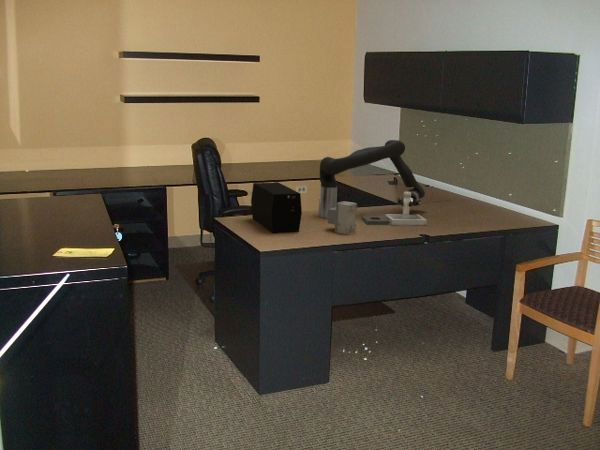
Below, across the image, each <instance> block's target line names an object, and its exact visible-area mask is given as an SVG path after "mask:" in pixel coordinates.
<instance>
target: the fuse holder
mask: <svg viewBox="0 0 600 450" xmlns="http://www.w3.org/2000/svg"><path fill="white" fill-rule="evenodd" d="M361 221H363V222H364V223H365V224H366V225H369V226H372V225H374V226H375V225H377V226H378V225H379V226H382V225H383V226H386V225H387V226H388V225H390V224H389V221H388V220H387V219H386V218H385V216H383V215H362V216H361Z"/></svg>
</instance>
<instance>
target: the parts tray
mask: <svg viewBox="0 0 600 450" xmlns="http://www.w3.org/2000/svg"><path fill="white" fill-rule="evenodd" d="M402 214H403V213H402ZM402 214H401V213H399V214H397V213H396V214H394V213H392V214H391V213H389V214H388V213H387V214H386V213H385V214H384V217H385V218H386V219H387V220H388V221H389V223H390V224H389V225H391V226H427V223H428V222H427V221H428V220H427V219H426V218H425V217H423V216H421V215H420V214H410V213H409V219H402Z"/></svg>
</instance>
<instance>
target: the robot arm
mask: <svg viewBox="0 0 600 450" xmlns="http://www.w3.org/2000/svg"><path fill="white" fill-rule="evenodd" d="M405 150H406V145H405V143H404V142H403V141H401V140H396V139H389V140H387V141H386V142H385V143H384V145H381V146H371V147H365V148H362V149H361V148H360V149H358V150H355V151H353V152H352V153H351V154H349V155H347V156H344V157H339V158H334V157H329V156H326V157H323V158H322V159H321V161H320V164H319V182H320V195H319V199H318V216H319V217H320V218H323V219H328V209H330V208H334V207H336V203H338V202H337V200H338V199H337V198H338V180H337V179H336V175H338V174H340V173H343V172H345V171H349V170H351V169H357V168H360V167H364V166H367V165H370V164H374V163H376V162H379V161H382V160H385V159H390V161H391V163H392V164H393V166H394V167H395V169H396V170H397V172H398V174H399V176H400V178H401V180H402V182H403V184H404V186H405V187H406V188H411V189H408V190H407V191H409V192H411V198H410V202H409V207H410V208H411V207H417V206H420V205H421V204H422V203H421V199H423V198H424V197H425V195H426V192H425V189H424V188H423V187H422V186H421V184H419V182H418V181H417V180H416V178H415V176H414V175H415V174H414V173H413V171H412V170H411V169H410V166H408V165H407V163H406V162H405V161H404V160H403V158H402V157H401V156H402V155H403V154H404V153H405ZM396 203H397V204H398V205H400V206H402V207H403V203H404V197H403V198H399V197H396Z"/></svg>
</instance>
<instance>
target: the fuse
mask: <svg viewBox="0 0 600 450" xmlns="http://www.w3.org/2000/svg"><path fill="white" fill-rule="evenodd" d="M403 198H404V203H403V206H402V219H409V214H410V208H411V207H409V202H410V198H411V192H409V191H408V190H405V191H403Z"/></svg>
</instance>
